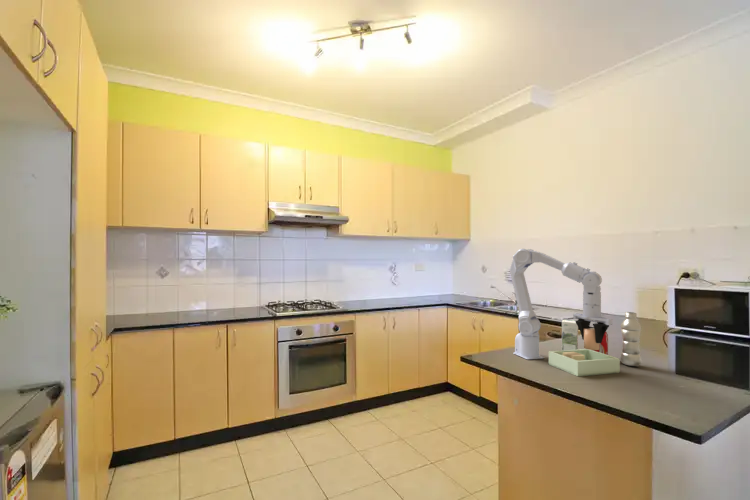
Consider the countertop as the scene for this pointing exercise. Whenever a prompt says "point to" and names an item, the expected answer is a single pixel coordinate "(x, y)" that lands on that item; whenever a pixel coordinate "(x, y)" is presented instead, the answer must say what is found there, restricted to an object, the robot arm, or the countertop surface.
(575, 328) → the syrup box
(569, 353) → the maple cube
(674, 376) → the countertop surface
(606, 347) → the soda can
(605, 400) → the countertop surface
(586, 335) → the terracotta cylinder
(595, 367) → the sage tote
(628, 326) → the plastic bottle
